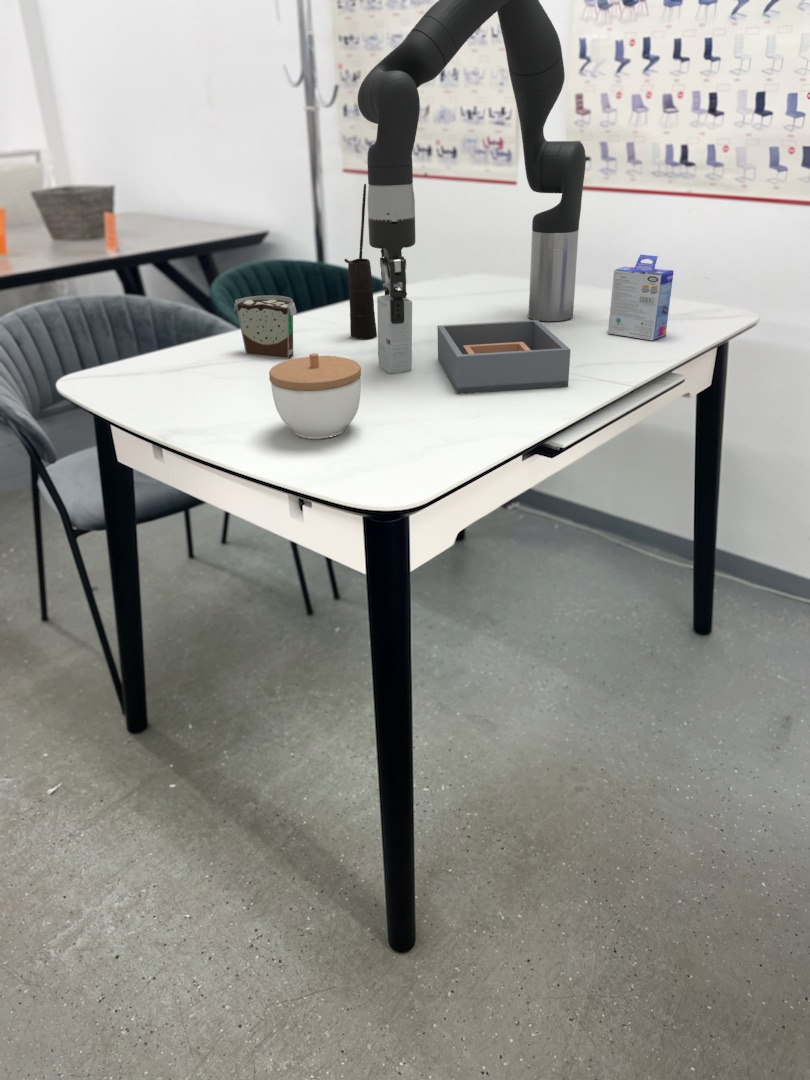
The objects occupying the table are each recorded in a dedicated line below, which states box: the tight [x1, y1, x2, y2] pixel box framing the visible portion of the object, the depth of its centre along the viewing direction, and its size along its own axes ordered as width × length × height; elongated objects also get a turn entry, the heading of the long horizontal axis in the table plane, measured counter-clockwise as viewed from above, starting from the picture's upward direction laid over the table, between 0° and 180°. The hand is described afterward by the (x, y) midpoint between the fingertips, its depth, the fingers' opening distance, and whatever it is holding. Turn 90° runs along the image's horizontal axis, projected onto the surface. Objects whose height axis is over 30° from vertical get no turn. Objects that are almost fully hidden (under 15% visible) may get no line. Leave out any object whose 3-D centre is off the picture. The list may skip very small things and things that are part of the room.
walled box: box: [436, 319, 571, 395], centre depth 139 cm, size 20×18×6 cm
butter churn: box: [343, 183, 378, 340], centre depth 157 cm, size 9×10×28 cm
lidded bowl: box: [268, 352, 362, 440], centre depth 116 cm, size 13×13×11 cm
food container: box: [233, 295, 298, 360], centre depth 153 cm, size 12×6×10 cm, turn 65°
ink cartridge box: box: [607, 254, 674, 341], centre depth 155 cm, size 10×6×14 cm, turn 49°
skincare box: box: [376, 294, 413, 374], centre depth 141 cm, size 6×4×12 cm
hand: (394, 317), depth 139 cm, fingers open, 8 cm apart
